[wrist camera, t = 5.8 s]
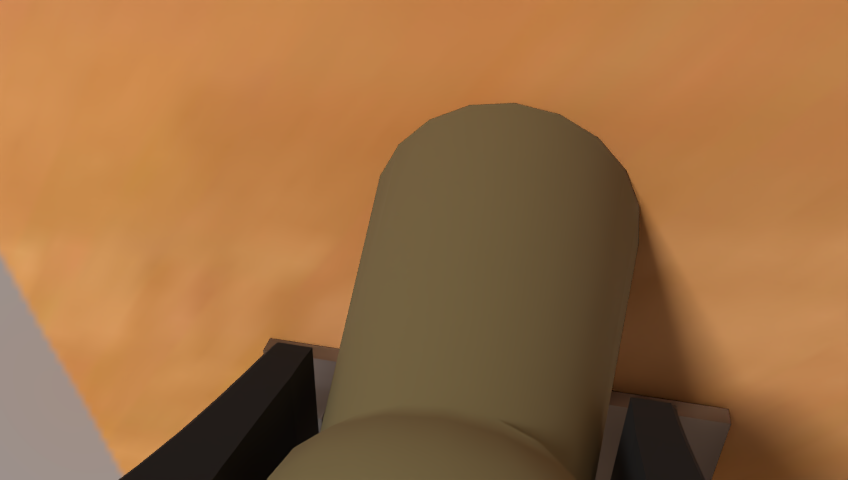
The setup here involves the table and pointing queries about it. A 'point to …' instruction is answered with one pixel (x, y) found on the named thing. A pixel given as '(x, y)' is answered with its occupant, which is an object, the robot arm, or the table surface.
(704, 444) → the shaker socket
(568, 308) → the olive rounded tapered post
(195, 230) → the table surface
